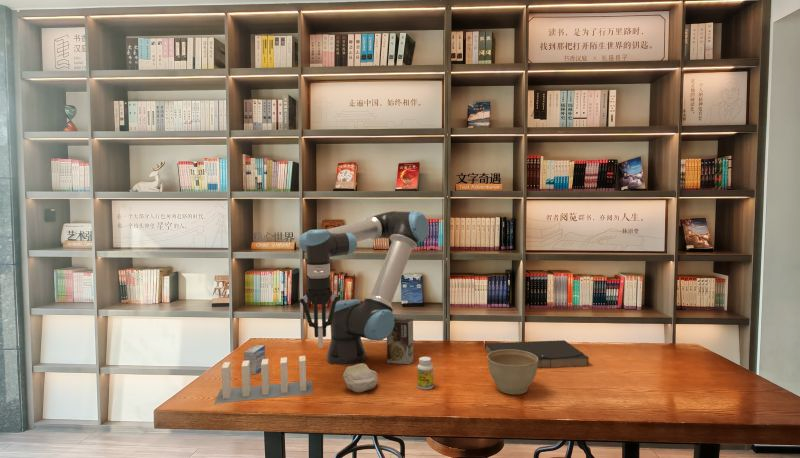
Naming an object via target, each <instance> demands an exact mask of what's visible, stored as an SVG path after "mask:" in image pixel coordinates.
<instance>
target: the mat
mask: <svg viewBox="0 0 800 458" xmlns="http://www.w3.org/2000/svg"><path fill="white" fill-rule="evenodd" d="M269 386H270V389H269V394H267V395H262V385H251V391H250V395H249V396H247V397H243V394H242V387H231V388H232V392H231V395H230V398H227V399H223V392H222V388H220V389H219V392H218V394H217V396H216V399H215V401H214V405H215V404H224V403H225V404H226V403H234V402H243V401H255V400H256V401H257V400H265V399H274V398H284V397H285V398H286V397H293V396H303V395H313V393H314V392H313V380H306V391H300V381H296V382H288V393H281V383H273V384H272V383H271V384H269Z"/></svg>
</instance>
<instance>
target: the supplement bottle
mask: <svg viewBox="0 0 800 458" xmlns="http://www.w3.org/2000/svg"><path fill="white" fill-rule="evenodd" d="M418 363H419V364H418V365H417V370H416V371H417V380H416V381H417V387H418V388H419V389H420V390H431V389H432V388H433V387H434V385H435V384H434V383H435V382H434V365H433V364H432V357H430V356H422V357H419V358H418Z"/></svg>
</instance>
